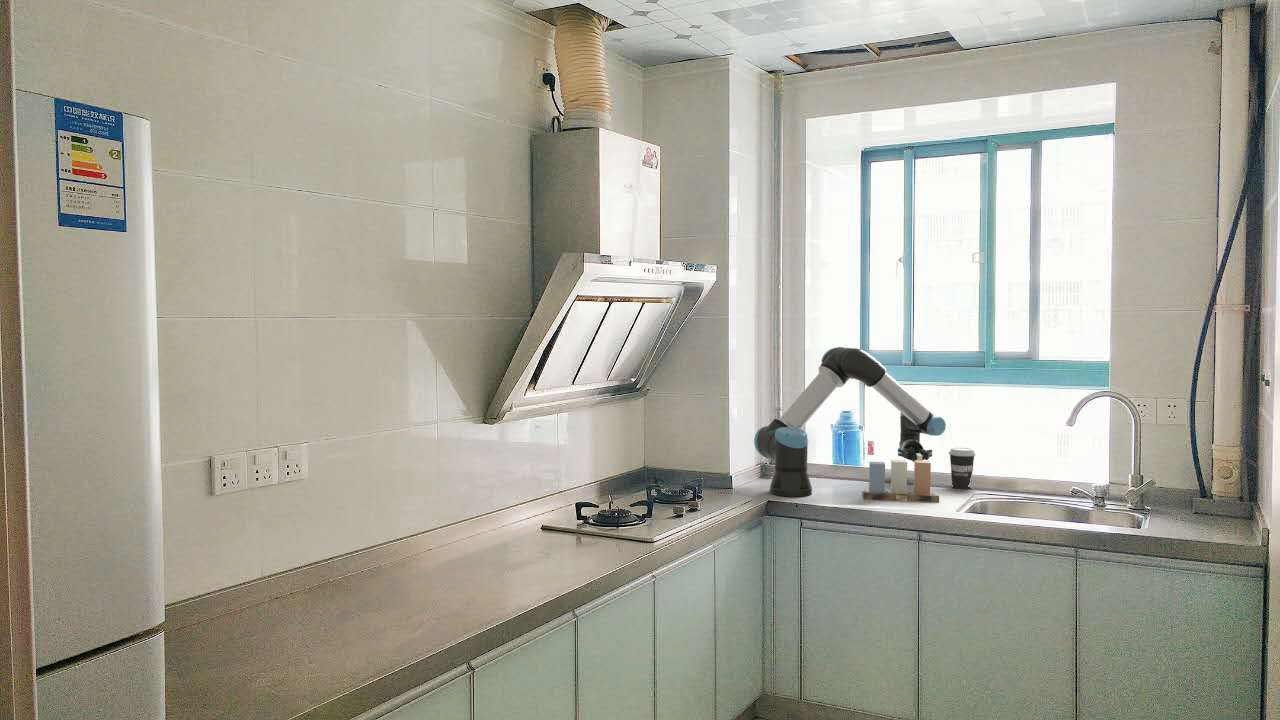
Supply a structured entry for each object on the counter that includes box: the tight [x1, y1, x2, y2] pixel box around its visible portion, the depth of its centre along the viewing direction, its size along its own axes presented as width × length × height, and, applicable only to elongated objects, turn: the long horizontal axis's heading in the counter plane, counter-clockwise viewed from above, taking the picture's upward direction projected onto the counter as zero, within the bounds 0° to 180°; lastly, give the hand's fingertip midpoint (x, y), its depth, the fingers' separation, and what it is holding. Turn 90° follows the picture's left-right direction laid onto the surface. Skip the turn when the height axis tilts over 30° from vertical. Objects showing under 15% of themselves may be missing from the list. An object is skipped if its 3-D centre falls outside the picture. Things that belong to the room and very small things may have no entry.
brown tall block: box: [913, 460, 932, 495], centre depth 321 cm, size 5×5×12 cm
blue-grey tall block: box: [868, 461, 886, 493], centre depth 318 cm, size 5×5×12 cm
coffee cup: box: [948, 446, 976, 489], centre depth 340 cm, size 10×10×15 cm
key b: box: [890, 459, 908, 494], centre depth 322 cm, size 5×5×12 cm
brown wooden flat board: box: [861, 490, 940, 503], centre depth 320 cm, size 25×15×3 cm, turn 79°
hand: (920, 459), depth 329 cm, fingers closed
